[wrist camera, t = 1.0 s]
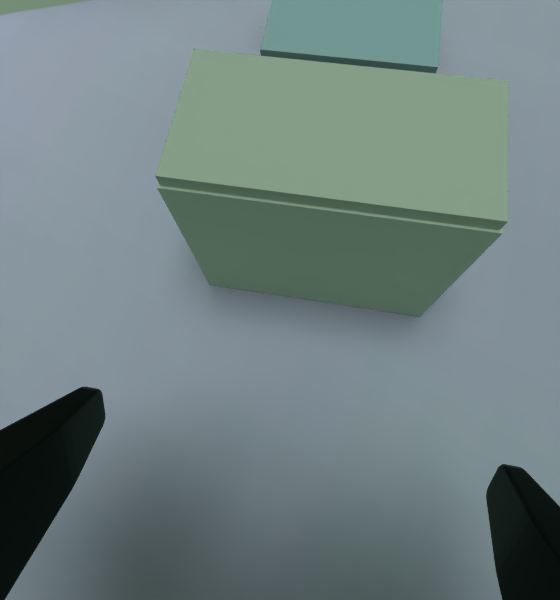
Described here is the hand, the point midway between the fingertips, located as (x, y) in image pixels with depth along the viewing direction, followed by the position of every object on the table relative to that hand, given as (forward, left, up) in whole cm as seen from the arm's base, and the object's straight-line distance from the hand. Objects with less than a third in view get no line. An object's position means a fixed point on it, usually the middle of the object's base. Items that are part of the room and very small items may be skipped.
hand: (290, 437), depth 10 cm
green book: (+11, +1, -13) cm, 17 cm away
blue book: (+16, +2, -13) cm, 21 cm away
